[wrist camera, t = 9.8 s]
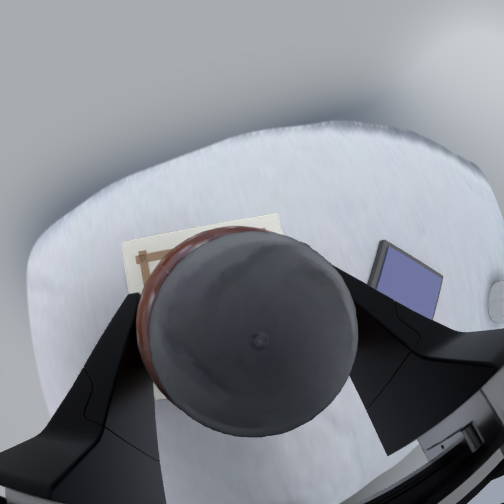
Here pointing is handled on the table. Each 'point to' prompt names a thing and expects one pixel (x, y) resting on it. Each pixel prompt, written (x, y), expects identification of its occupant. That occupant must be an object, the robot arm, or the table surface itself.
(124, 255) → the marked sheet
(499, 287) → the white short cylinder
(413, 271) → the ink pad
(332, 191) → the table surface
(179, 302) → the supplement bottle
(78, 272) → the table surface
